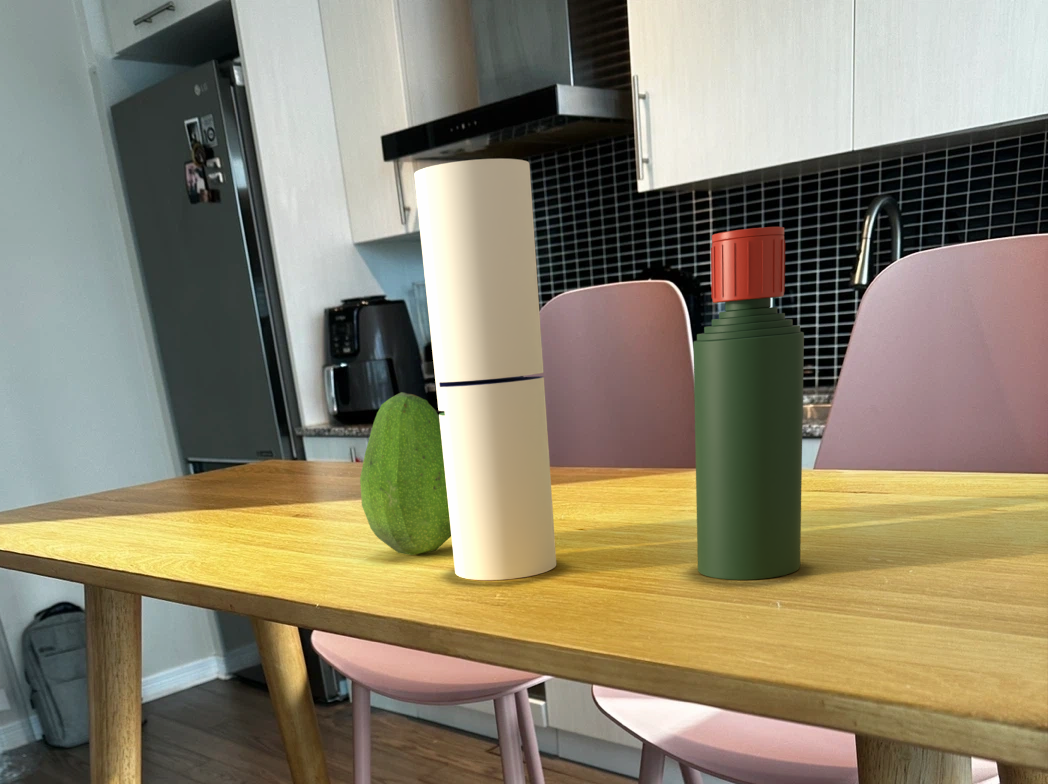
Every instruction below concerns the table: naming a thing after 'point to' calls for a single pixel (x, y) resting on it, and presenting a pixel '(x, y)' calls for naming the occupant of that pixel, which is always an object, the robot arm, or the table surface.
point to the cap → (748, 264)
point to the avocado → (406, 477)
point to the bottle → (748, 442)
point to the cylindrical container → (488, 364)
